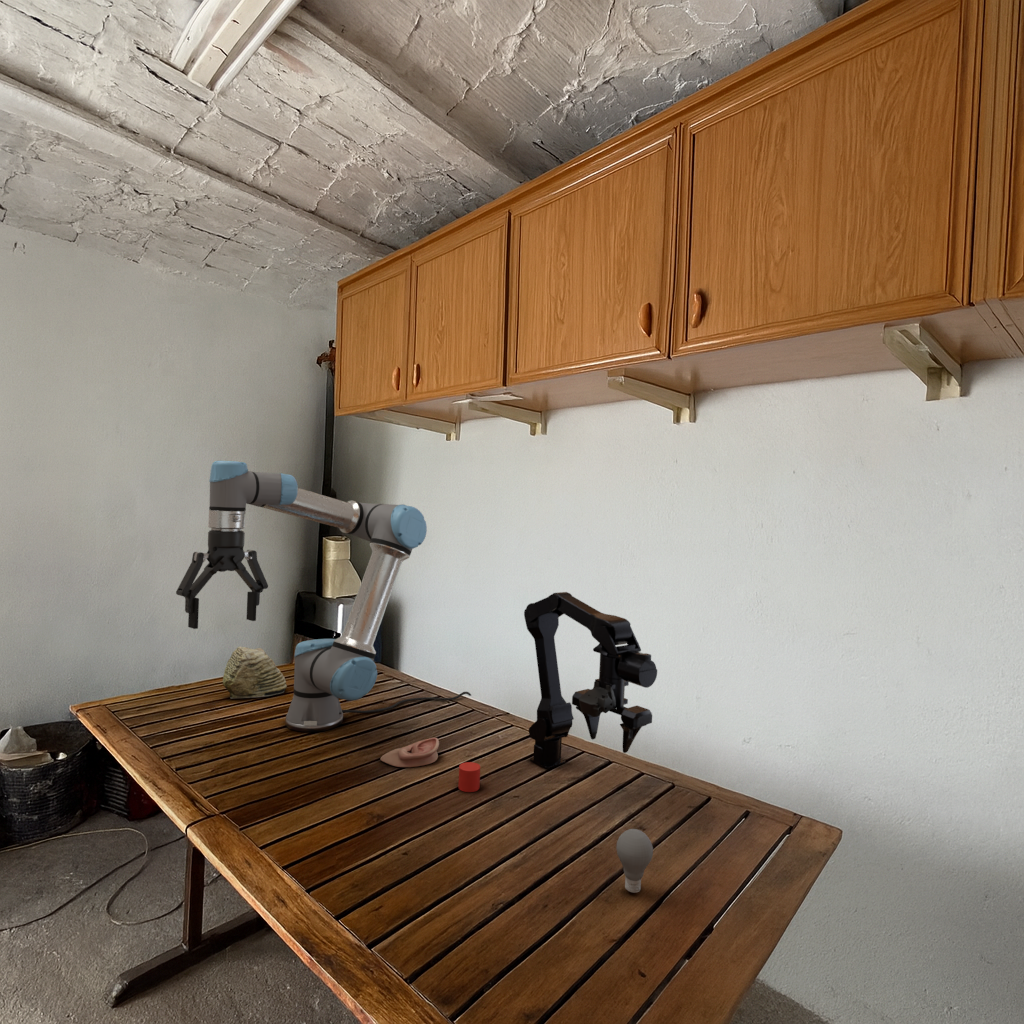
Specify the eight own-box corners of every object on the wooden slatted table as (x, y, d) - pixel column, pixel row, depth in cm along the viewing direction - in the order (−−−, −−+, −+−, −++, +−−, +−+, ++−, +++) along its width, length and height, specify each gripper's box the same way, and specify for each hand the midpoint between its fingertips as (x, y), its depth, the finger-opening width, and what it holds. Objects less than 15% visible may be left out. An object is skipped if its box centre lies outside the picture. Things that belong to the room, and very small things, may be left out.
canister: (470, 794, 138) (471, 772, 138) (453, 787, 141) (454, 766, 140) (483, 786, 142) (484, 765, 142) (467, 780, 144) (468, 760, 144)
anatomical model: (375, 747, 151) (394, 730, 162) (374, 764, 151) (393, 746, 162) (428, 754, 148) (443, 736, 159) (427, 771, 148) (443, 752, 159)
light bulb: (610, 879, 108) (613, 822, 108) (644, 879, 109) (647, 822, 109) (619, 902, 102) (622, 840, 102) (655, 901, 103) (658, 840, 103)
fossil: (218, 695, 195) (220, 647, 195) (278, 685, 208) (279, 640, 207) (228, 703, 189) (230, 653, 188) (289, 692, 201) (290, 645, 201)
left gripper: (178, 531, 130) (174, 634, 130) (285, 530, 150) (282, 619, 150) (161, 529, 134) (157, 628, 135) (267, 528, 155) (264, 614, 155)
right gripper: (556, 671, 142) (553, 740, 142) (621, 692, 128) (618, 769, 128) (590, 664, 149) (586, 729, 149) (655, 683, 135) (651, 756, 135)
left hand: (223, 623), depth 143 cm, fingers open, 13 cm apart
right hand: (608, 745), depth 140 cm, fingers open, 9 cm apart
